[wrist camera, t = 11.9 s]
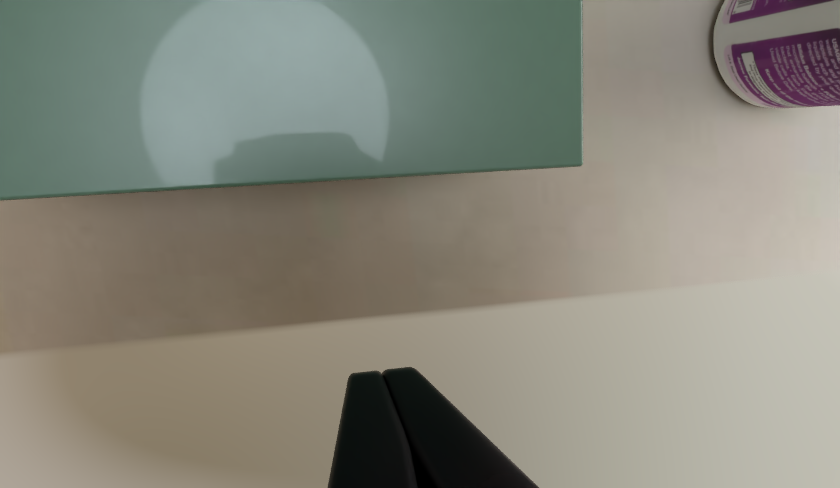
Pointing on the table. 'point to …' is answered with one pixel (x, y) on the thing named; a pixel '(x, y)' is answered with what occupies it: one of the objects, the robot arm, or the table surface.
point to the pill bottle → (780, 51)
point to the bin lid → (282, 91)
